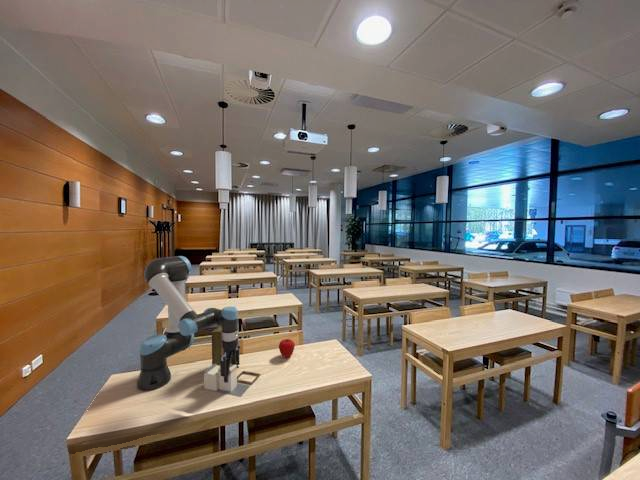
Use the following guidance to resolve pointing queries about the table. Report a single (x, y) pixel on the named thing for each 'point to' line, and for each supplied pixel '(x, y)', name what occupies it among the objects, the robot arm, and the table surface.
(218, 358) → the book
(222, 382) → the stub
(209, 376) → the pad
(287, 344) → the apple
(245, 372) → the tray
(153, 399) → the table surface
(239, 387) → the board
